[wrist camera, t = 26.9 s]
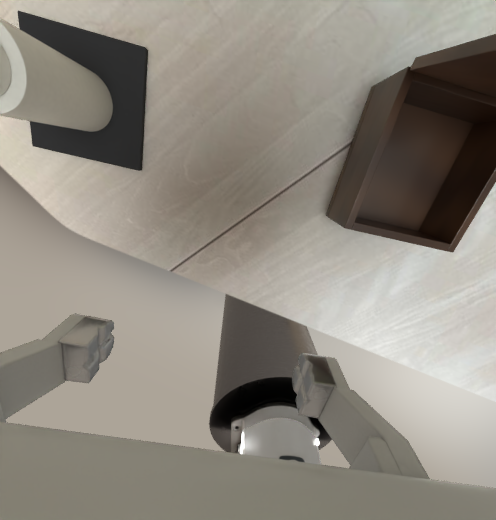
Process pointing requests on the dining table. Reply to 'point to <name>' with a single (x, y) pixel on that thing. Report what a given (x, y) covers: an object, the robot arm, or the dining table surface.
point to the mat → (117, 81)
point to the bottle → (48, 85)
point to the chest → (418, 162)
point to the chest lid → (463, 65)
